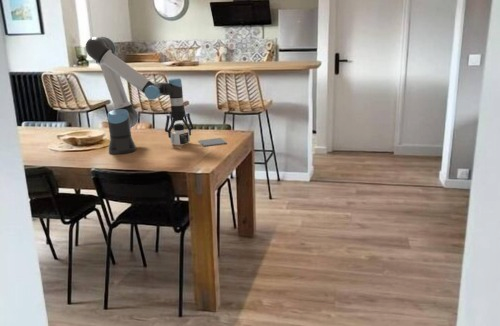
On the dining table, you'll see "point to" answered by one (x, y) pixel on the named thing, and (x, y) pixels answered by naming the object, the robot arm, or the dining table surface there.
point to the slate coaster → (212, 142)
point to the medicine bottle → (179, 135)
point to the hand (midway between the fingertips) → (180, 141)
